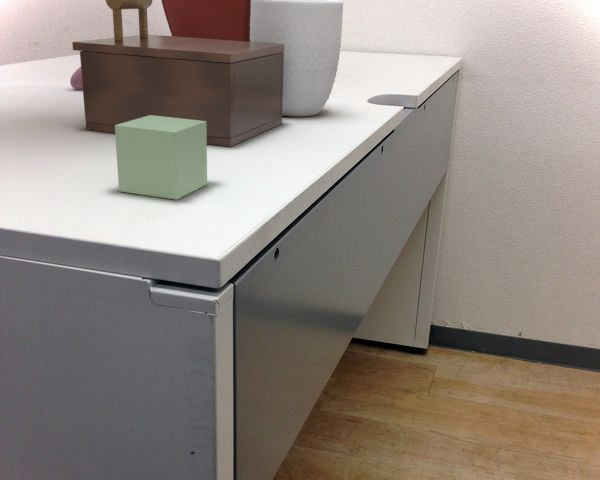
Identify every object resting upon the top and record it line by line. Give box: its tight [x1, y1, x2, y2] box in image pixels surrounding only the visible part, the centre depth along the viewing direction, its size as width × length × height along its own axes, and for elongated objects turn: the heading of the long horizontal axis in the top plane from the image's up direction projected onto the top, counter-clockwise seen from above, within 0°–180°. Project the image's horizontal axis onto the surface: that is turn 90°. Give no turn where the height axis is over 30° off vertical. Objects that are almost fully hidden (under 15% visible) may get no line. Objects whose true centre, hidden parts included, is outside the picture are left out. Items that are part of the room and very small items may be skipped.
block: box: [114, 115, 208, 201], centre depth 55 cm, size 5×5×5 cm
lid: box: [71, 0, 284, 63], centre depth 75 cm, size 17×14×6 cm
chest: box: [79, 51, 284, 148], centre depth 78 cm, size 17×14×8 cm
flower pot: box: [161, 0, 251, 42], centre depth 126 cm, size 19×19×17 cm
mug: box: [250, 0, 344, 117], centre depth 89 cm, size 15×11×13 cm
